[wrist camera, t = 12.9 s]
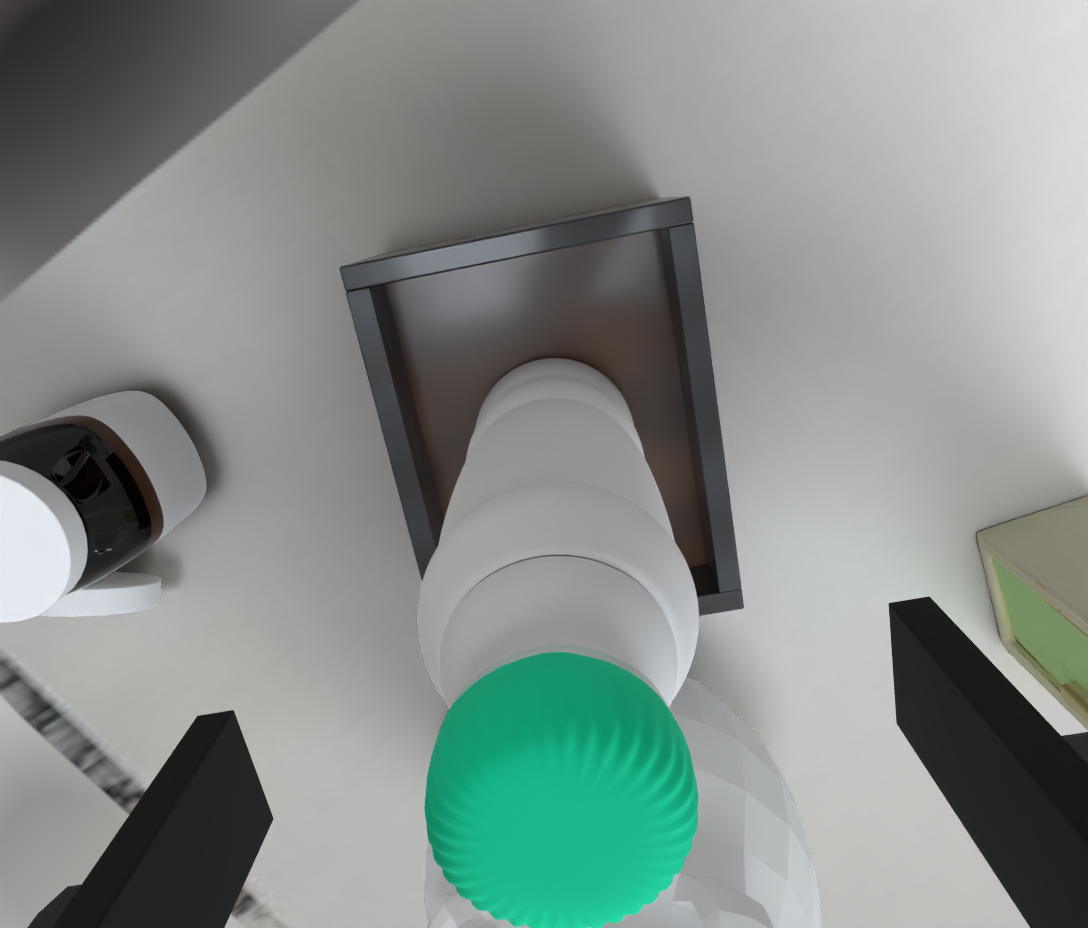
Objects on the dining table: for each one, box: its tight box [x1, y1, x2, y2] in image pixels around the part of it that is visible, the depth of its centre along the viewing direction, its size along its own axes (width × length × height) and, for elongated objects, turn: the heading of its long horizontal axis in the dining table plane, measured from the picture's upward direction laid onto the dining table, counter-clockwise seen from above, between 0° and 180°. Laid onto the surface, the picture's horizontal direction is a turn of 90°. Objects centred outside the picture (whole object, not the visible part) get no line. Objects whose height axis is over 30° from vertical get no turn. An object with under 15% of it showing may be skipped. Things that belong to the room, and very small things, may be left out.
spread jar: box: [0, 391, 207, 623], centre depth 39 cm, size 12×11×12 cm
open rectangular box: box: [340, 197, 744, 616], centre depth 38 cm, size 18×14×9 cm
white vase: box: [424, 676, 822, 928], centre depth 37 cm, size 19×18×25 cm
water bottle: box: [417, 358, 699, 928], centre depth 25 cm, size 7×7×25 cm
